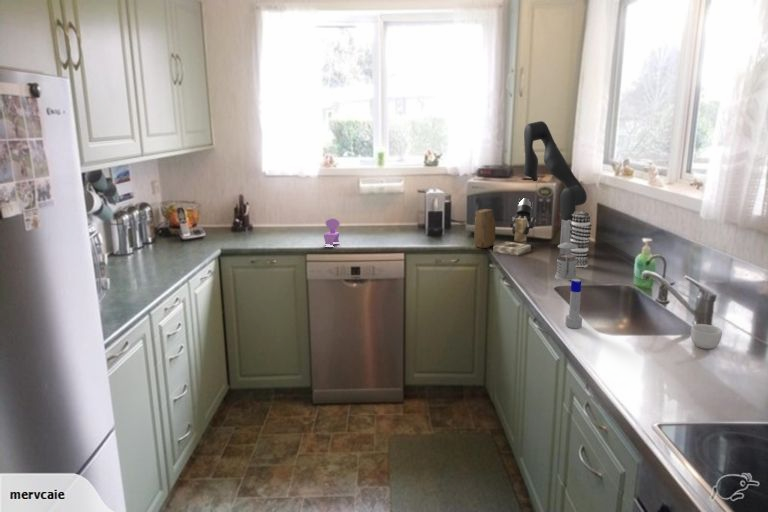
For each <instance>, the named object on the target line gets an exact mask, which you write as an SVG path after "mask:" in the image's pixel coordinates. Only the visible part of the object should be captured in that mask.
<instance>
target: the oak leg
mask: <svg viewBox="0 0 768 512" xmlns="http://www.w3.org/2000/svg"><path fill="white" fill-rule="evenodd" d="M514 223H515V234H514V241H513V243H520V244H526V243H527V242H528V240H527V235H526V234H525V232H526V227H527V219H526V218H517V219H514ZM526 245H527V244H526Z"/></svg>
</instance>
